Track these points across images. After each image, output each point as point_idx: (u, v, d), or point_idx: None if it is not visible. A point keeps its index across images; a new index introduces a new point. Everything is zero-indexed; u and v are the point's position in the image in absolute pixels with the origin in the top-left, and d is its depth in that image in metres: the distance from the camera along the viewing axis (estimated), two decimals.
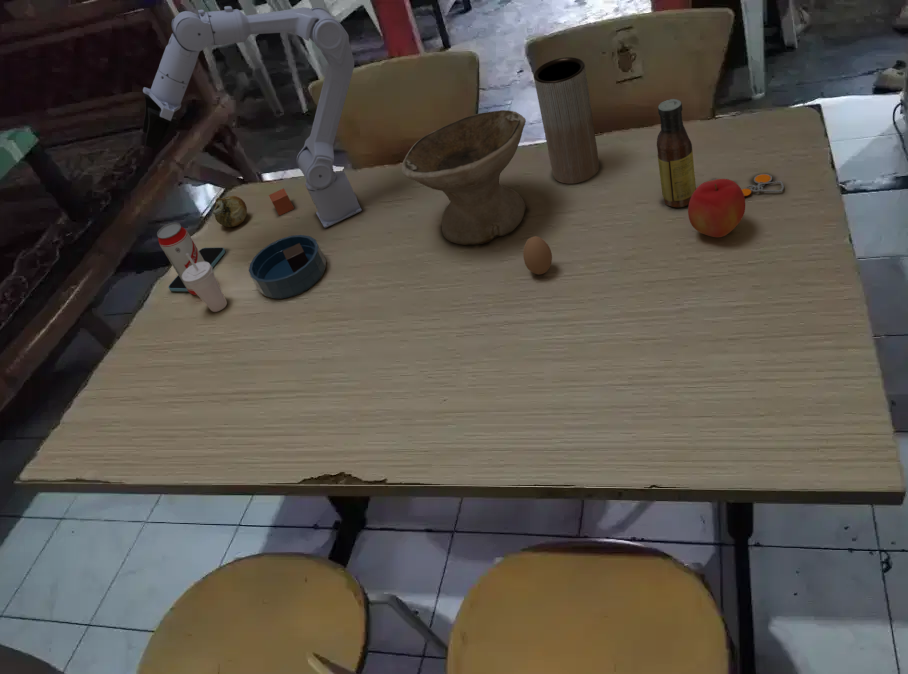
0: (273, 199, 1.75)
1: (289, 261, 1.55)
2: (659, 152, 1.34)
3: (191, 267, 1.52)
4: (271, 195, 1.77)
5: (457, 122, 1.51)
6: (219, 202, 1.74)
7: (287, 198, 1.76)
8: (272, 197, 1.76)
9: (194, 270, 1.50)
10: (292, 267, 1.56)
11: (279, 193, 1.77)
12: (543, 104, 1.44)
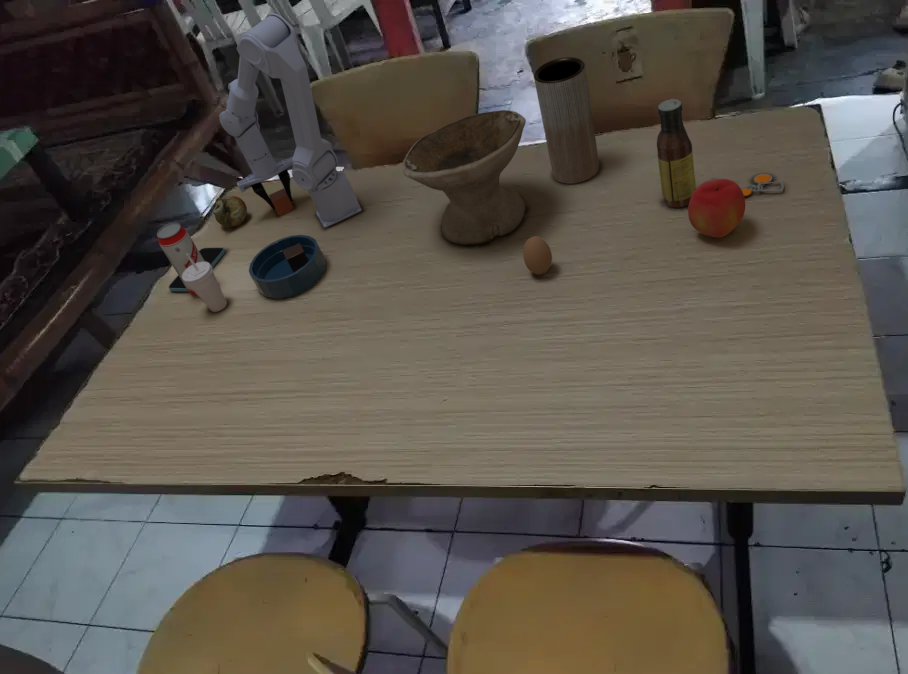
0: (273, 199, 1.75)
1: (289, 261, 1.55)
2: (659, 152, 1.34)
3: (191, 267, 1.52)
4: (271, 195, 1.77)
5: (457, 122, 1.51)
6: (219, 202, 1.74)
7: (287, 198, 1.76)
8: (272, 197, 1.76)
9: (194, 270, 1.50)
10: (292, 267, 1.56)
11: (279, 193, 1.77)
12: (543, 104, 1.44)
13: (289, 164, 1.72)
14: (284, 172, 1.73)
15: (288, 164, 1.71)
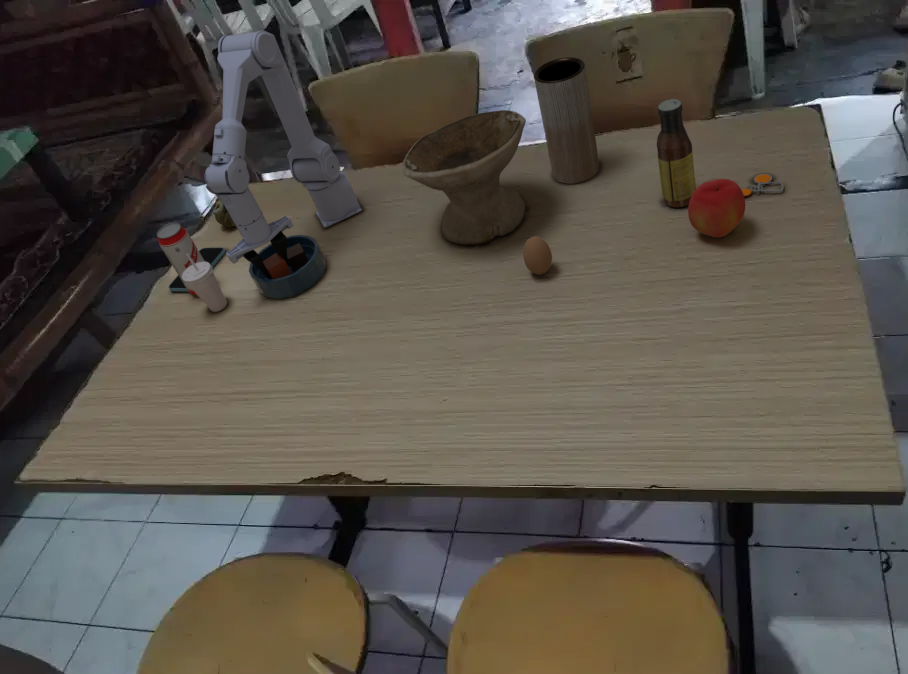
0: (269, 266, 1.51)
1: (289, 261, 1.55)
2: (659, 152, 1.34)
3: (191, 267, 1.52)
4: None
5: (457, 122, 1.51)
6: (219, 202, 1.74)
7: (284, 263, 1.52)
8: (266, 265, 1.52)
9: (194, 270, 1.50)
10: (292, 267, 1.56)
11: (272, 259, 1.53)
12: (543, 104, 1.44)
13: (284, 224, 1.49)
14: (279, 234, 1.50)
15: (283, 224, 1.49)
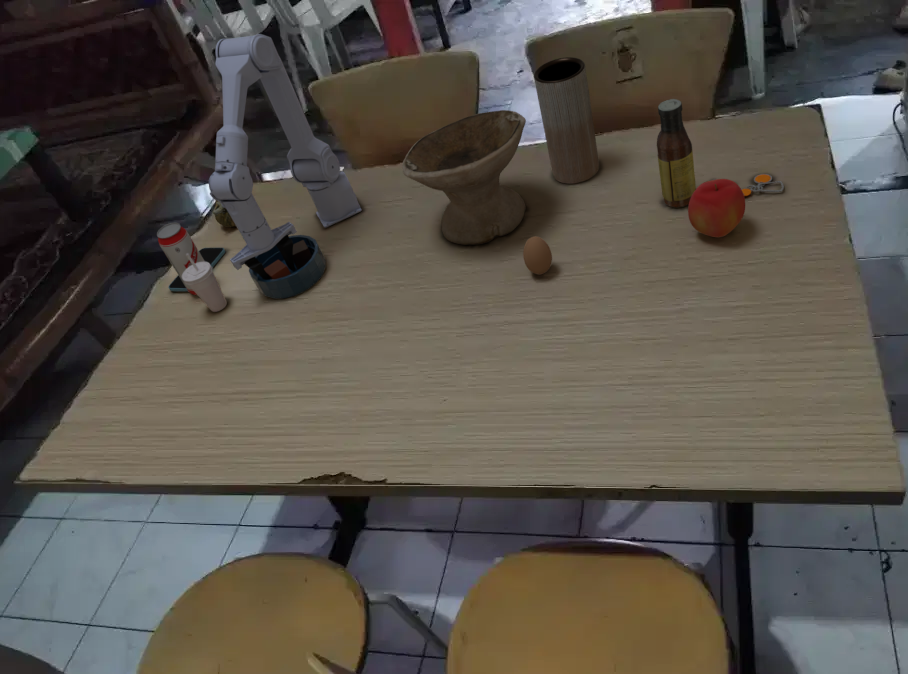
0: (271, 273, 1.52)
1: (293, 257, 1.55)
2: (659, 152, 1.34)
3: (191, 267, 1.52)
4: (266, 269, 1.54)
5: (457, 122, 1.51)
6: (219, 202, 1.74)
7: (287, 269, 1.53)
8: (268, 271, 1.53)
9: (194, 270, 1.50)
10: (296, 264, 1.56)
11: (275, 265, 1.54)
12: (543, 104, 1.44)
13: (287, 230, 1.50)
14: (285, 238, 1.51)
15: (286, 230, 1.50)
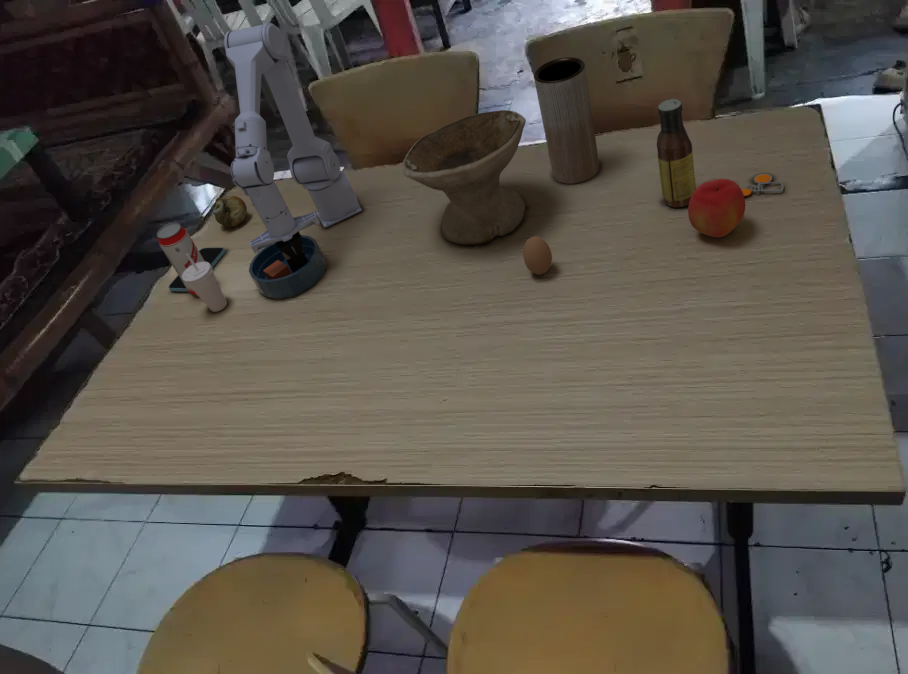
0: (272, 273, 1.52)
1: (289, 262, 1.55)
2: (659, 152, 1.34)
3: (191, 267, 1.52)
4: (266, 270, 1.53)
5: (457, 122, 1.51)
6: (219, 202, 1.74)
7: (287, 269, 1.53)
8: (269, 271, 1.53)
9: (194, 270, 1.50)
10: (292, 268, 1.56)
11: (275, 265, 1.54)
12: (543, 104, 1.44)
13: None
14: None
15: None
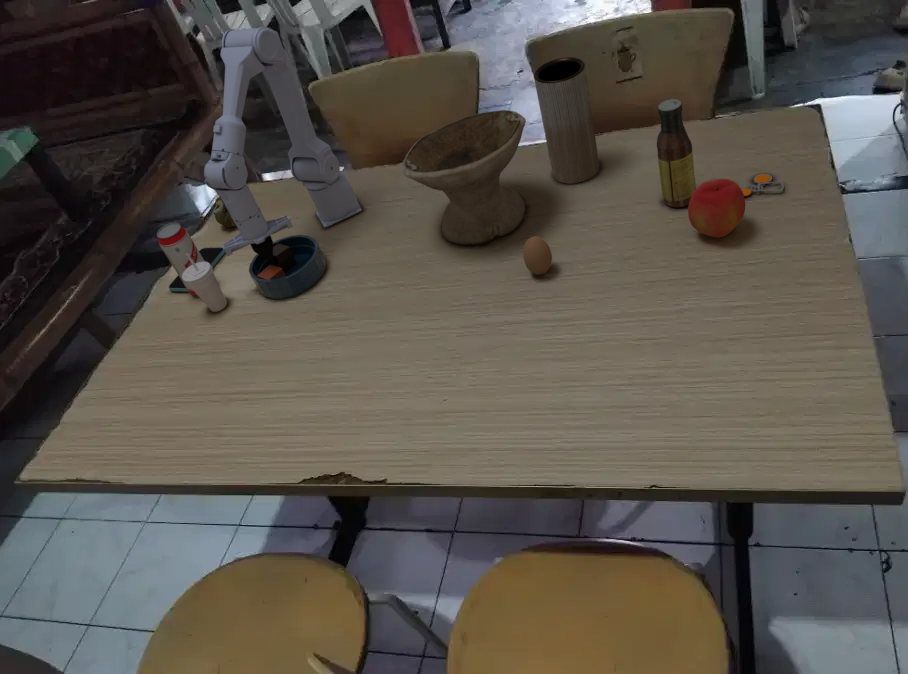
0: (268, 277, 1.51)
1: None
2: (659, 152, 1.34)
3: (191, 267, 1.52)
4: (261, 274, 1.53)
5: (457, 122, 1.51)
6: (219, 202, 1.74)
7: (282, 272, 1.53)
8: (264, 276, 1.52)
9: (194, 270, 1.50)
10: None
11: (269, 270, 1.53)
12: (543, 104, 1.44)
13: None
14: None
15: None
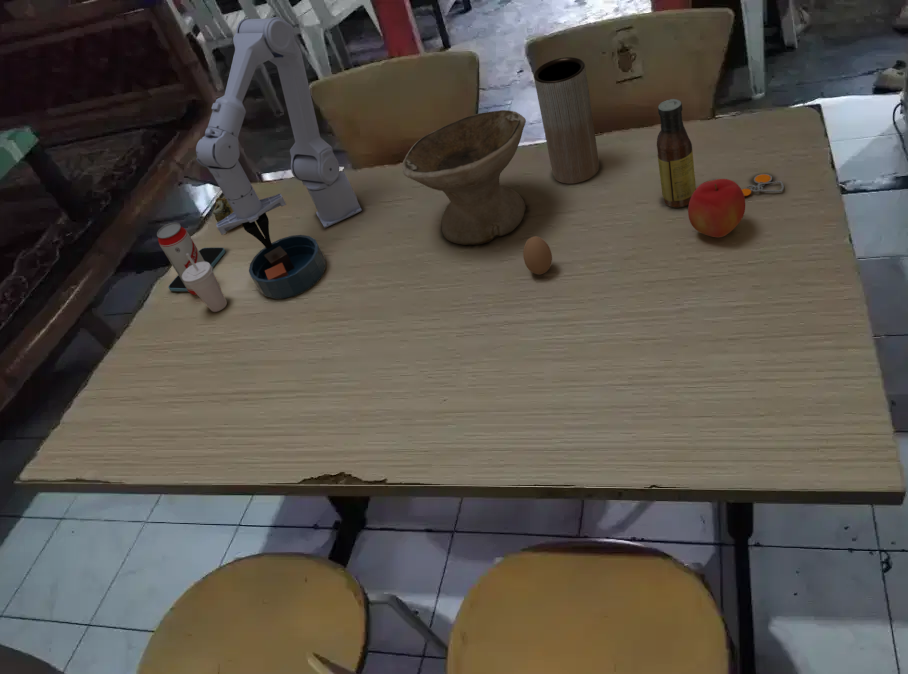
0: (270, 276, 1.51)
1: None
2: (659, 152, 1.34)
3: (191, 267, 1.52)
4: (267, 271, 1.53)
5: (457, 122, 1.51)
6: (219, 202, 1.74)
7: (286, 275, 1.52)
8: (268, 274, 1.52)
9: (194, 270, 1.50)
10: (268, 263, 1.59)
11: (276, 268, 1.53)
12: (543, 104, 1.44)
13: None
14: None
15: None
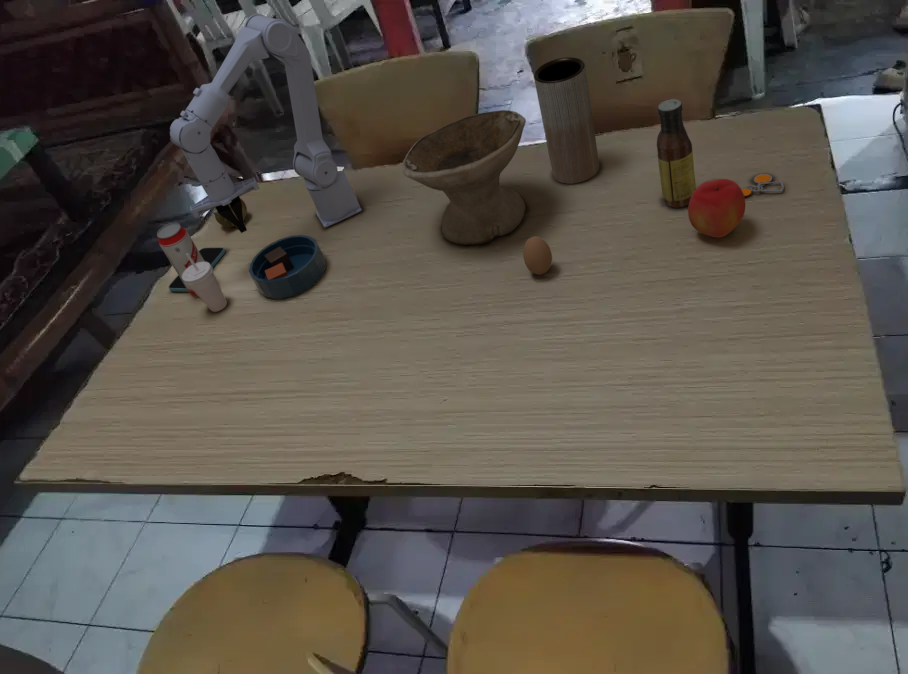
0: (270, 276, 1.51)
1: None
2: (659, 152, 1.34)
3: (191, 267, 1.52)
4: (267, 271, 1.53)
5: (457, 122, 1.51)
6: None
7: (286, 275, 1.52)
8: (268, 274, 1.52)
9: (194, 270, 1.50)
10: (269, 264, 1.59)
11: (276, 268, 1.53)
12: (543, 104, 1.44)
13: None
14: None
15: None
